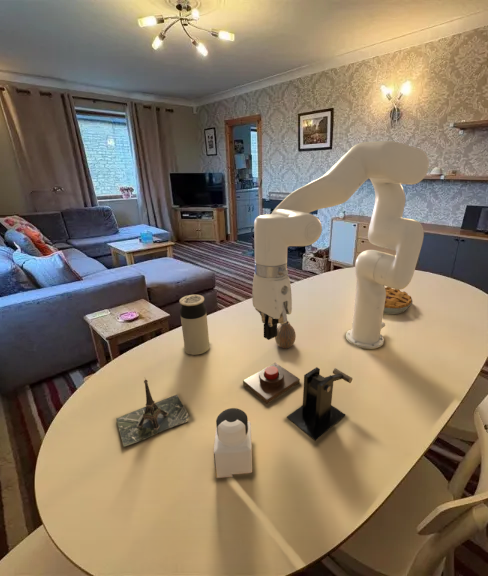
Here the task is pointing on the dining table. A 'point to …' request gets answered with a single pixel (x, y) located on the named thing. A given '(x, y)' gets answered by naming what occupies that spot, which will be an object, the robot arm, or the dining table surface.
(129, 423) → the eiffel tower figurine
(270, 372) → the button
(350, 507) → the dining table surface
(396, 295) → the pie
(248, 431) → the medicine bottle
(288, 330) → the vase
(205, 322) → the travel mug
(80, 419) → the dining table surface
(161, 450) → the dining table surface
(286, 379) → the housing
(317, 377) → the switch lever
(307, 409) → the switch bracket
